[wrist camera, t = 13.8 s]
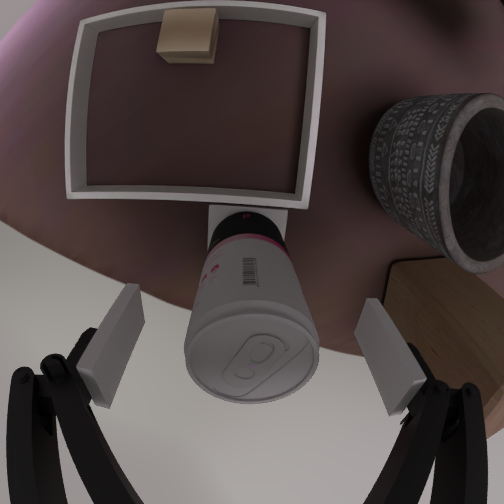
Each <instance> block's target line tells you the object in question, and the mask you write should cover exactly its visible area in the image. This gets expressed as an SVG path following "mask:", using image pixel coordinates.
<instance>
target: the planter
mask: <svg viewBox="0 0 504 504" xmlns="http://www.w3.org/2000/svg"><path fill="white" fill-rule="evenodd" d="M369 173H370V179H371V184H372V187H373V190H374V193H375V195H376V198H377V199H378V201H379V203H380V205H381V206H382V208H383V209H384V211H385V212H386V213H387V214H388V215H389V216H390V217H391V218H392V219H393V220H395V221H396V222H397V223H398V224H400V225H401V226H403V227H404V228H406V229H407V230H409V231H410V232H412V233H413V234H415V235H417V236H418V237H420V238H421V239H422V240H423V241H425V242H426V243H427V244H429V245H430V246H431V247H433V248H434V249H435V250H437V251H438V252H440V253H441V254H442V255H444V256H445V257H447V258H448V259H449V260H451V261H452V262H453V263H455V264H456V265H458V266H459V267H460V268H462V269H463V270H465V271H467V272H469V273H474V274H482V273H487V272H490V271H492V270H495V269H496V268H498V267H500V266H501V265H503V264H504V98H503V97H501V96H499V95H496V94H492V93H476V94H472V93H464V94H446V95H433V96H419V97H413V98H408V99H405V100H402V101H400V102H398V103H396V104H395V105H393V106H392V107H390V108H389V109H388V110H387V111H386V112H385V114H384V115H383V116H382V117H381V119H380V120H379V122H378V124H377V126H376V128H375V130H374V133H373V136H372V139H371V143H370V149H369Z"/></svg>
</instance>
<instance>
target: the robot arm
mask: <svg viewBox="0 0 504 504" xmlns="http://www.w3.org/2000/svg"><path fill="white" fill-rule="evenodd" d="M500 1H501V2H502V4H503V5H504V0H500ZM144 323H145V320H144V313H143V307H142V301H141V293H140V286H139V284H132V283H127V284H126V285H125V287H124V288H123V290H122V291H121V293H120V295H119V296H118V298H117V299H116V301H115V302H114V304H113V305H112V307H111V309H110V310H109V312H108V313H107V315H106V316H105V318H104V320H103V321H102V323H101V324H100V326H99V328H98V329H96V328H91V327H90V328H89V329H87V330H86V331H85V332H84V333H82V335H81V336H80V338H79V340H78V342H77V343H76V344H75V347H74V348H73V349H72V351H71V353H70V354H69V356H68V358H67V359H65V358H64V356H62V355H60V354H50V355H48V356H46V357H45V358H44V359H43V360H42V362H41V364H40V369H41V371H42V373H43V374H44V375H35V374H34V372H33V371H32V369H30V368H29V367H20V368H18V369H17V370H15V372H14V373H13V375H12V379H11V386H10V394H9V403H8V414H7V435H6V457H7V475H8V487H9V495H10V502H11V504H68V502H67V498H66V494H65V489H64V484H63V478H62V473H61V466H60V459H59V452H58V451H59V450H58V441H57V429H56V416H57V418H58V421H59V424H60V427H61V430H62V433H63V436H64V439H65V441H66V444H67V447H68V449H69V452H70V454H71V457H72V459H73V462H74V464H75V465H76V468H77V471H78V473H79V475H80V477H81V479H82V481H83V483H84V485H85V487H86V489H87V491H88V493H89V495H90V497H91V499H92V501H93V503H94V504H144V503H143V502H142V500H141V499H140V497H139V496H138V494H137V493H136V491H135V490H134V488H133V487H132V485H131V484H130V482H129V481H128V479H127V477H126V476H125V474H124V472H123V471H122V469H121V467H120V465H119V464H118V462H117V460H116V459H115V457H114V455H113V453H112V451H111V449H110V447H109V445H108V443H107V441H106V440H105V438H104V435H103V434H102V431H101V429H100V427H99V425H98V423H97V421H96V418H95V416H94V414H93V412H92V410H91V407H90V405H89V403H90V401H91V399H92V400H93V401H94V403H95V405H97V406H101V407H104V408H109V409H110V406H111V404H112V401H113V398H114V396H115V393H116V391H117V388H118V385H119V383H120V380H121V378H122V375H123V373H124V370H125V368H126V365H127V363H128V360H129V358H130V356H131V353H132V351H133V349H134V346H135V344H136V341H137V339H138V337H139V335H140V332H141V330H142V328H143V326H144ZM354 335H355V337H356V339H357V341H358V344H359V346H360V348H361V350H362V352H363V355H364V357H365V359H366V361H367V364H368V366H369V368H370V371H371V373H372V376H373V378H374V380H375V383H376V385H377V387H378V390H379V392H380V395H381V397H382V400H383V402H384V405H385V407H386V410H387V412H388V415H389V416H393V415H398V414H401V413H402V412H403V411H404V410H405V408H406V407H407V408H408V410H409V413H408V414H407V415H406V417H405V418H404V419H403V420H402V421H401V423H400V424H402V423H403V422H404V423H403V425H402V428H401V431H400V433H399V435H398V437H397V440H396V442H395V444H394V447H393V449H392V451H391V453H390V455H389V457H388V460H387V461H386V463H385V466H384V467H383V470H382V471H381V473H380V475H379V477H378V479H377V481H376V483H375V484H374V486H373V488H372V490H371V492H370V493H369V495H368V497H367V498H366V500H365V502H364V503H363V504H418V502H419V500H420V497H421V495H422V492H423V490H424V487H425V485H426V482H427V480H428V477H429V474H430V471H431V469H432V465H433V462H434V460H435V469H434V479H433V487H432V494H431V500H430V504H487V491H488V459H487V458H488V457H487V441H486V430H485V421H484V413H483V406H482V400H481V394H480V391H479V389H478V387H477V386H476V385H475V384H473V383H470V382H466V383H464V384H463V385H462V387H461V388H460V389H453V388H449V386H448V385H447V384H446V383H445V382H443V381H441V380H436V379H435V377H434V375H433V374H432V372H431V370H430V368H429V367H428V365H427V363H426V362H424V359H423V357H422V356H421V354H420V352H419V350H418V349H417V348H416V347H415V346H414V345H413V344H412V343H411V342H410V343H406V342H405V340H404V339H403V337H402V335H401V334H400V332H399V331H398V329H397V328H396V326H395V324H394V323H393V321H392V320H391V318H390V317H389V315H388V314H387V312H386V310H385V309H384V307H383V306H382V304H381V303H380V301H379V300H378V298H366V301H365V304H364V307H363V310H362V313H361V316H360V319H359V321H358V324H357V327H356V330H355V332H354ZM435 456H436V457H435Z"/></svg>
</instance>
